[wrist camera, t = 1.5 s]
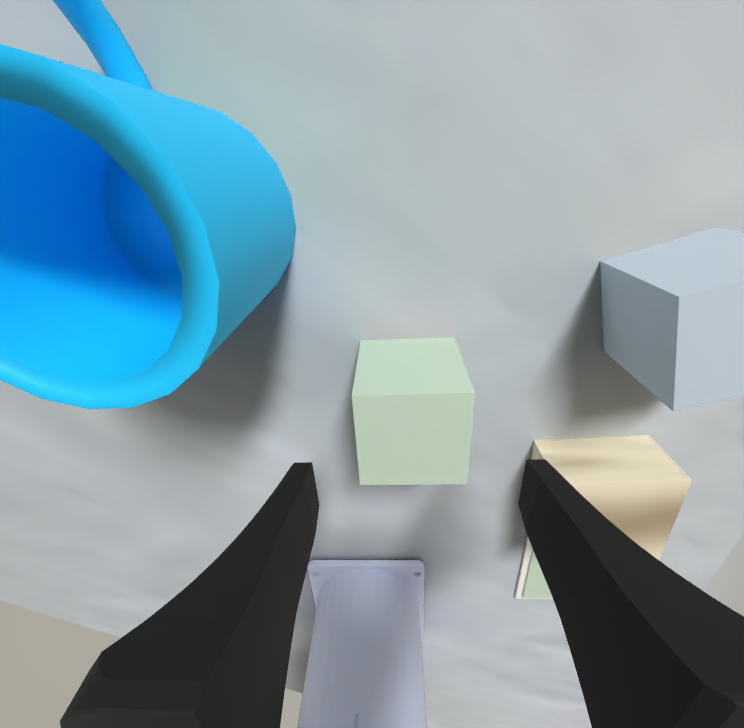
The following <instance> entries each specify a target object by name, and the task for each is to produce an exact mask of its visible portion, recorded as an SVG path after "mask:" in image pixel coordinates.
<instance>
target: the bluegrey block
mask: <svg viewBox="0 0 744 728" xmlns="http://www.w3.org/2000/svg"><path fill="white" fill-rule="evenodd" d="M600 271H601V292H602V314H603V336H604V352H605V353H606V354H608V355H609V356H610V357H611V358H612V359H613V360H615V361H616V362H617V363H618V364H619V365H620V366H621V367H623V368H624V369H625V370H626V371H627V372H628V373H630V374H631V375H632V376H633V377H634V378H635V379H637V380H638V381H639V382H640V383H641V384H642V385H643V386H645V387H646V388H647V389H648V390H649V391H650V392H652V393H653V394H654V395H655V396H656V397H657V398H658V399H660V400H661V401H662V402H663V403H664V404H665V405H667V406H668V407H669V408H670V409H671V410H672V411H677V410H682V409H687V408H692V407H696V406H701V405H706V404H710V403H715V402H720V401H724V400H729V399H734V398H738V397H743V396H744V232H741V231H735V230H730V229H725V228H719V227H716V228H713V229H709V230H706V231H702V232H699V233H695V234H692V235H688V236H685V237H681V238H678V239H674V240H671V241H668V242H664V243H661V244H657V245H654V246H650V247H647V248H643V249H640V250H636V251H633V252H629V253H626V254H623V255H619V256H616V257H612V258H609V259H605V260H602V261H600Z"/></svg>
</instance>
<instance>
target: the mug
mask: <svg viewBox="0 0 744 728" xmlns="http://www.w3.org/2000/svg"><path fill="white" fill-rule="evenodd" d="M53 1H54V2H55V4H56V5H57V6H58V7H59V9H60V10H61V11H62V13H63V14H64V15H65V17H66V18H67V19H68V21H69V22H70V23H71V24H72V26H73V27H74V28H75V30H76V31H77V32H78V34H79V35H80V36H81V38H82V39H83V40H84V41H85V43H86V44H87V45H88V47H89V49H90V50H91V52H92V54H93V55H94V57H95V58H96V60H97V62H98V63H99V65H100V66H101V68H102V70H103V71H104V73H105V74H106V76H104V75H101V74H98V73H94V72H91V71H88V70H85V69H82V68H78V67H75V66H72V65H69V64H66V63H62V62H59V61H56V60H53V59H50V58H46V57H43V56H40V55H36V54H33V53H29V52H26V51H22V50H19V49H16V48H12V47H9V46H5V45H2V44H0V380H1V381H3V382H5V383H8V384H10V385H12V386H14V387H17V388H19V389H21V390H23V391H26V392H28V393H30V394H32V395H35V396H37V397H39V398H41V399H45V400H50V401H54V402H59V403H63V404H68V405H73V406H77V407H82V408H86V409H108V408H133V407H136V406H139V405H141V404H144V403H147V402H150V401H152V400H155V399H158V398H161V397H164V396H166V395H169V394H171V393H172V392H173V391H174V390H175V389H176V388H177V387H179V386H180V385H181V384H182V383H183V382H184V381H185V380H186V379H188V378H189V377H190V376H191V375H192V374H193V373H194V372H196V371H197V370H198V369H199V368H200V367H201V366H202V365H203V364H204V362H205V361H206V360H207V359H208V358H209V357H210V356H211V355H212V354H213V353H214V352H215V351H216V350H217V348H218V347H219V346H220V345H221V344H222V343H223V342H224V341H225V340H226V339H227V338H228V337H229V336H230V334H231V333H232V332H233V331H234V330H235V329H236V328H237V327H238V326H239V325H240V324H241V323H242V322H243V320H244V319H245V318H246V317H247V316H248V315H249V314H250V313H251V312H252V311H253V310H254V309H255V308H256V306H257V305H258V304H259V303H260V302H261V301H262V300H263V299H264V298H265V297H266V296H267V295H268V294H269V292H270V291H271V290H272V289H273V288H274V287H275V286H276V285H277V284H278V283H279V281H280V279H281V277H282V275H283V274H284V272H285V270H286V268H287V266H288V264H289V262H290V260H291V258H292V251H293V245H294V238H295V231H296V226H295V219H294V213H293V206H292V199H291V195H290V192H289V190H288V188H287V186H286V184H285V181H284V179H283V177H282V175H281V173H280V170H279V168H278V166H277V164H276V162H275V161H274V159H273V158H272V157H271V156H270V155H269V153H268V152H267V151H266V150H265V149H264V147H263V146H262V145H261V144H260V143H259V141H258V140H257V139H256V138H255V137H254V135H253V134H252V133H251V132H249V131H248V130H246V129H245V128H243V127H242V126H240V125H239V124H237V123H236V122H234V121H233V120H232V119H230V118H229V117H227V116H226V115H224V114H223V113H221V112H219V111H216V110H213V109H210V108H207V107H203V106H200V105H197V104H194V103H191V102H187V101H184V100H181V99H178V98H175V97H171V96H168V95H165V94H162V93H158V92H155V91H153V90H152V87H151V85H150V83H149V81H148V79H147V77H146V75H145V73H144V71H143V69H142V68H141V66H140V64H139V62H138V60H137V59H136V57H135V55H134V53H133V52H132V50H131V48H130V46H129V44H128V43H127V41H126V39H125V37H124V35H123V34H122V32H121V30H120V28H119V27H118V25H117V24H116V22H115V21H114V19H113V18H112V17H111V15H110V14H109V12H108V11H107V9H106V8H105V6H104V5H103V3H102V2H101V0H53Z"/></svg>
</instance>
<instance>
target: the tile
mask: <svg viewBox="0 0 744 728" xmlns="http://www.w3.org/2000/svg"><path fill="white" fill-rule="evenodd" d="M515 598H516V599H553V597H552V595H551V592H550V590H549V587H548V585H547V583H546V580H545V578H544V575H543V573H542V570H541V568H540V566H539V563H538V561H537V558H536V556H535V553H534V551H533V548H532V546H531V543H530V541H529V538H528V536H527V540H526V545H525V550H524V554H523V559H522V564H521V569H520V573H519V578H518V583H517V588H516V592H515Z"/></svg>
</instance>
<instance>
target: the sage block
mask: <svg viewBox="0 0 744 728" xmlns="http://www.w3.org/2000/svg"><path fill="white" fill-rule="evenodd" d="M474 404H475V390H474V387H473V385H472V382H471V380H470V377H469V374H468V372H467V369H466V367H465V364H464V361H463V359H462V356H461V354H460V351H459V348H458V346H457V343H456V340H455V338H454V337H449V338H418V339H388V340H360V347H359V353H358V359H357V365H356V372H355V378H354V384H353V391H352V405H353V415H354V426H355V437H356V448H357V459H358V470H359V480H360V485H428V484H467V482H468V471H469V460H470V449H471V438H472V427H473V415H474Z"/></svg>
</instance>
